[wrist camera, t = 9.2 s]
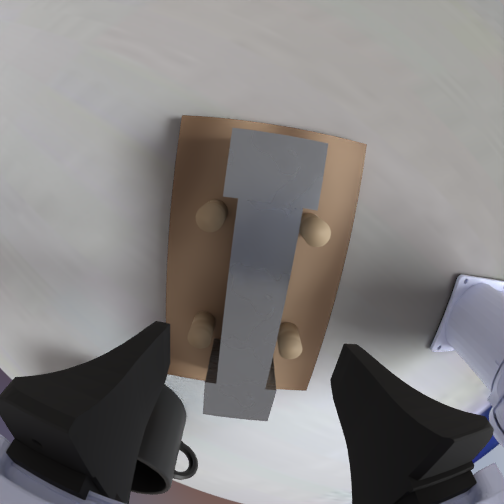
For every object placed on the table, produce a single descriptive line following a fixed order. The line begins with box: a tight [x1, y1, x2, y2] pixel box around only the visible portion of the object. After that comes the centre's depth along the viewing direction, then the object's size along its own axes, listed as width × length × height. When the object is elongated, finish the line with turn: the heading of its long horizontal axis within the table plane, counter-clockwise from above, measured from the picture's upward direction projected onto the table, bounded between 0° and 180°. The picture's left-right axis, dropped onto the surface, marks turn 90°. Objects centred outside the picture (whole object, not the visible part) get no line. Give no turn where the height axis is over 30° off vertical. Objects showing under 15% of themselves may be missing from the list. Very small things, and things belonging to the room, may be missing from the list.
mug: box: [131, 385, 198, 495], centre depth 21 cm, size 9×12×9 cm
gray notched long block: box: [203, 128, 328, 421], centre depth 17 cm, size 17×4×5 cm, turn 172°
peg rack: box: [166, 115, 367, 390], centre depth 19 cm, size 12×20×4 cm, turn 172°
